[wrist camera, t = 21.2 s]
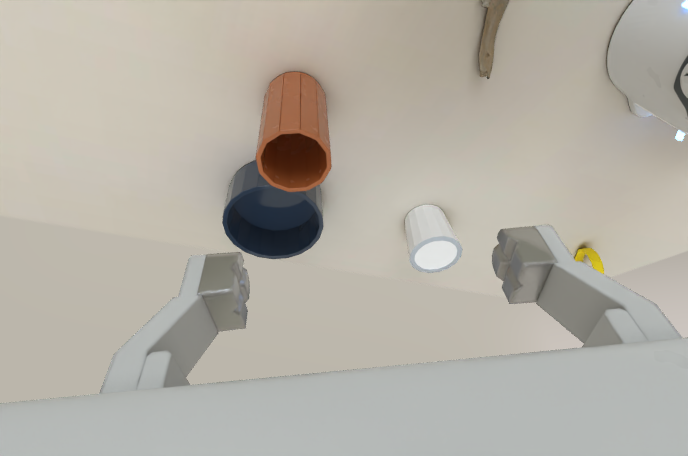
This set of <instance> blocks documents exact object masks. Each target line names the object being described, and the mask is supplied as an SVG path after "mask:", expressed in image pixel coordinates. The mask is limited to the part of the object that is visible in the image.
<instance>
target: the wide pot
mask: <svg viewBox="0 0 688 456" xmlns="http://www.w3.org/2000/svg"><path fill="white" fill-rule="evenodd" d="M222 223H223V226H224V230H225V233H226V235H227V236H228V238H229V239H230V240H231V241H232V243H233V244H234V245H236V246H237V247H239V248H240V249H241V250H243V251H244V252H246V253H249V254H252V255H254V256H257V257H262V258H269V259H281V258H289V257H292V256H296V255H299V254H302V253H303V252H305V251H306V250H308V249H310V248H311V247H312V246H313V245H314V244H315V243H316V242H317V241H318V239H319V238H320V236H321V233H322V230H323V210H322V195H321V189H320V186H319V185H317V186H315V187H313V188H311V189H310V190H307V191H296V192H287V191H285V190H282V189H279V188H276V187H274V186H272V185H270V184H269V183H268V182H267V181H266V180H265V179H264V178H263V176H262V175H261V174H260V173H259V170H258V166H257V161H253V162H251V163H249V164H247V165H245V166H244V167H242V168H241V169H240V170H239V171H238V172H237V173H236V174H235V175H234V177H233V178H232V180H231V183H230V185H229V189H228V194H227V198H226V203H225V208H224V213H223V221H222Z"/></svg>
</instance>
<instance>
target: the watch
mask: <svg viewBox="0 0 688 456" xmlns="http://www.w3.org/2000/svg"><path fill="white" fill-rule="evenodd" d="M585 254H586V255H588V257H589V259H590V261H591V262H592V267H593V268H594V269H595V270H597V271H599V272H601V273H602V274H604V268H603V264H602V261H601V259H600V257H599V255H598V254H597V252H595V251H594V250H593V249H592V248H583V249H578V252H577V254H576V256H575V261H581V262H583V258H584V256H585Z"/></svg>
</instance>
